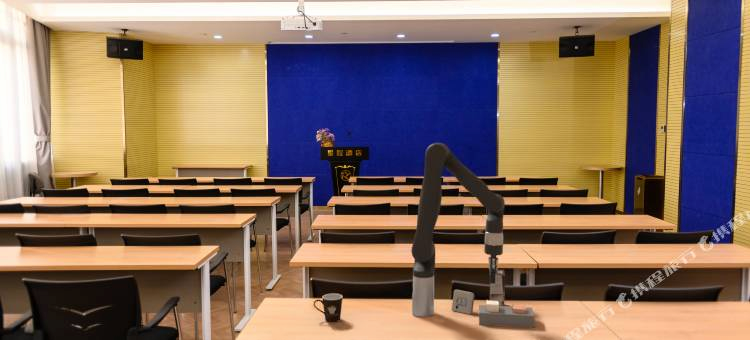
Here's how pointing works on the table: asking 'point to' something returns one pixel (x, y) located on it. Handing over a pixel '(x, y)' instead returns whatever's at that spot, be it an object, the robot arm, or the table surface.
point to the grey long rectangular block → (506, 317)
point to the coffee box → (498, 288)
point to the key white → (492, 306)
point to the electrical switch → (463, 301)
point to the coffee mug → (331, 307)
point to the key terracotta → (519, 309)
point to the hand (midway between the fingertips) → (492, 282)
